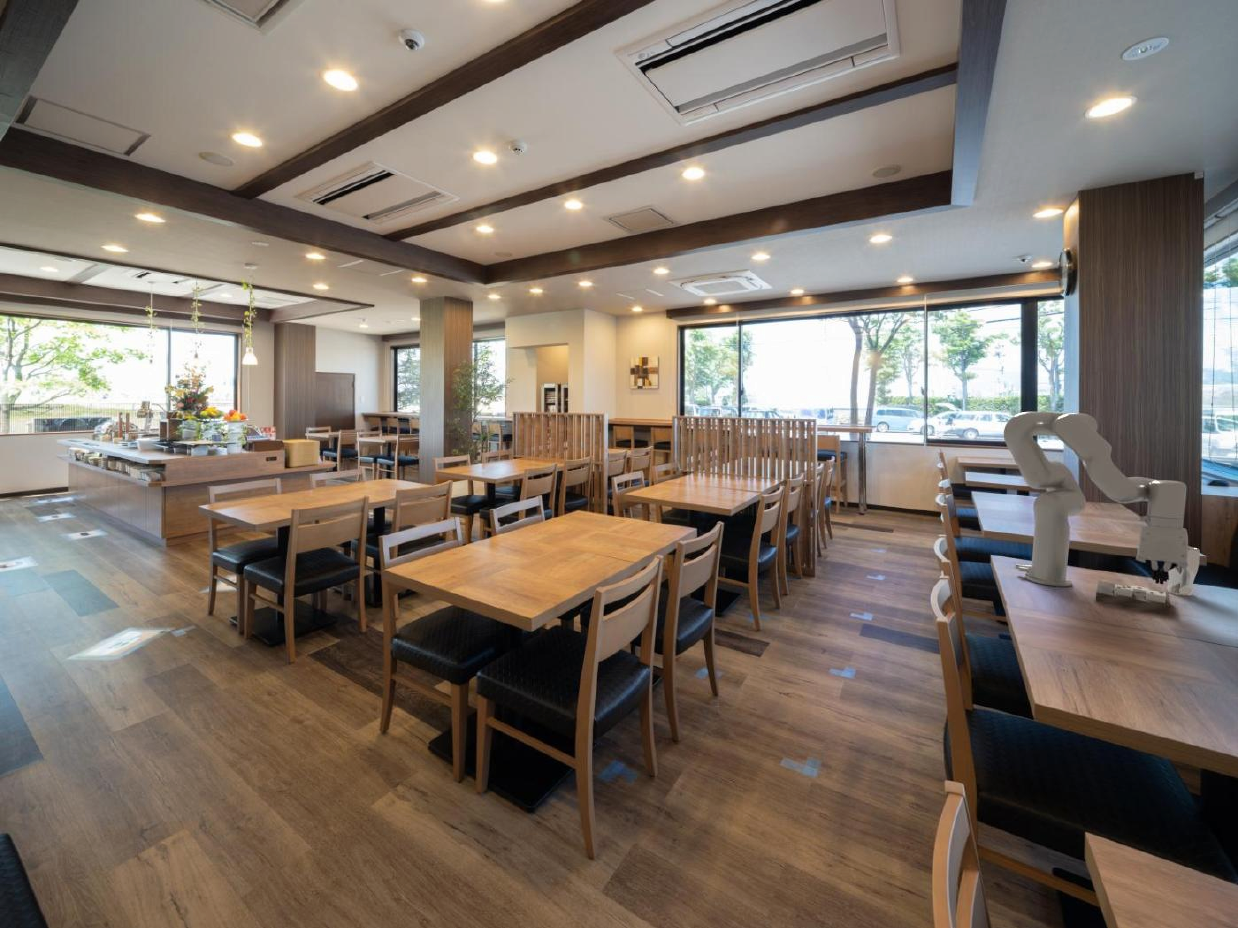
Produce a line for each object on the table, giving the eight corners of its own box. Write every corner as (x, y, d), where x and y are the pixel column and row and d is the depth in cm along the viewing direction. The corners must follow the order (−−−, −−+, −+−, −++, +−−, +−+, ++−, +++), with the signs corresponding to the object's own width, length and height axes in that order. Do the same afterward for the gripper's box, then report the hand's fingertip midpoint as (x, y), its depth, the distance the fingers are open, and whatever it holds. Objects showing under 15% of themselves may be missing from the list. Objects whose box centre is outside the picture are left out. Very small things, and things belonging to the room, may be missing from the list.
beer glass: (1180, 589, 173) (1186, 545, 172) (1202, 597, 167) (1207, 551, 165) (1157, 588, 174) (1162, 544, 172) (1177, 596, 167) (1183, 550, 166)
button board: (1095, 601, 164) (1096, 592, 164) (1098, 589, 174) (1098, 581, 173) (1169, 615, 153) (1170, 605, 152) (1167, 602, 163) (1168, 592, 162)
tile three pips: (1113, 596, 162) (1114, 586, 162) (1114, 593, 165) (1115, 583, 165) (1131, 600, 159) (1132, 590, 159) (1131, 596, 162) (1133, 586, 162)
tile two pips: (1145, 602, 157) (1146, 592, 157) (1145, 598, 160) (1146, 589, 160) (1164, 606, 155) (1166, 595, 154) (1164, 602, 157) (1165, 592, 157)
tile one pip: (1129, 597, 165) (1130, 587, 165) (1129, 594, 168) (1130, 584, 167) (1147, 600, 162) (1148, 590, 162) (1147, 597, 165) (1148, 587, 165)
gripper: (1129, 521, 157) (1124, 580, 159) (1203, 528, 147) (1197, 591, 148) (1129, 517, 162) (1124, 574, 164) (1201, 523, 152) (1195, 585, 154)
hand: (1159, 582), depth 156 cm, fingers closed
